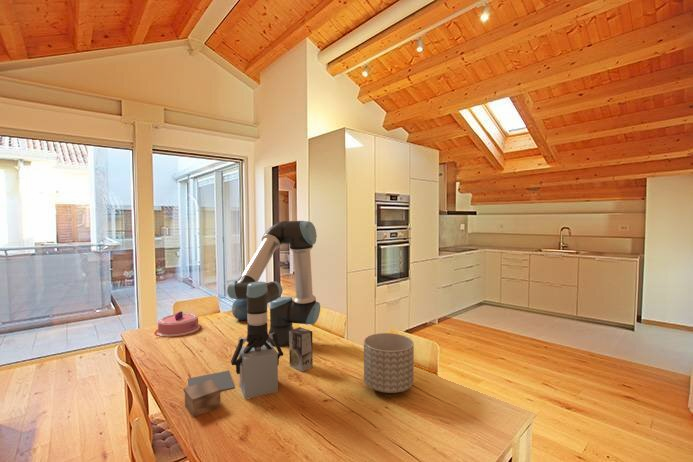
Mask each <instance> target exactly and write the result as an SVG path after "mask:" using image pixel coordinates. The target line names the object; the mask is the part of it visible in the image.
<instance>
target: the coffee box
mask: <svg viewBox="0 0 693 462" xmlns="http://www.w3.org/2000/svg"><path fill="white" fill-rule="evenodd" d="M288 346H289V367H291V368H293V369H295V370H297V371H300V372H305V371H307V370H311V369H312V368H313V367H314V365H313V358H314V357H313V331H312V330H310V329H308V328H304V327H301V326H300V327H299V326H298V327H296V328H293V330H290V331H289V345H288Z"/></svg>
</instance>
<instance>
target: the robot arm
mask: <svg viewBox="0 0 693 462" xmlns="http://www.w3.org/2000/svg"><path fill="white" fill-rule="evenodd" d="M317 237H318V236H317V229H316V227H315V225H314V223H313V222H311V221H308V220H282V221H279V222H277V223H275V224H273V225H272V226H271V227H269V228H268V229H267V230H266V231H265V232H264V234H263V236H262V237H261V242H260V244H259V246H258V248H257V249H256V251H255V252H254V254H253V255H252V258H251V259H250V261H249V262H248V264H247V265H246V267H245V269H244V270H243V272H242V274H241V275H240V276H239V278H238V280H232V281H231V282H229V284H228V285H227V289H226V293H227V296H228V297H229V298H230V299H233V300H236V299H238V300H240V299H242V300H247V320H246V322H247V327H246V329H247V331H246V333H247V335H246V337H241V336H239V337H238V343H237V345H236V348H235V351H234V353H233V356H232V357H231V360H230V363H231V366H235V372H236V374H237V375H238V382H239V381H240V383H242V364H241V363H242V356H241V355H240V356H239V353H240V351H241V349H242V347H244V344H245V343H246V342H247V344H246V345H245V346H246V348H245V349H244V351H243V353H244V354H246V353H249V351H250V350H251V349H252V348H257V347H262V346H263V345H265V346H266V347H267V349H272V348H271V346H270V345H269V344H268V342H270V344H271V345H272V346H273V347H275V348H276V351H277V353H278V366H279V362H280V360H279V359H280V358H281V357H283V356H284V352H283V350H282V347H286V346H289V331H290V330H293V329H294V327H293V324H298V325H299V324H301V325H307V326H308V325H314V324H316V323H317V321H318V320H319V318H320V317H319V316H320V312H321V303H320V302H319V301H317V298H316V295H314V294H313V279H312V261H311V259H312V258H311V257H312V256H311V250H312V249H313V248H314V245H315V244H316V242H317ZM281 245H289V249H290V251H292V252H293V253H292V255H293V256H292V257H293V258H292V259H293V270H294V284H295V285H294V286H295V297H294V298H293V297H292V296H288V295H287V296H282V294H283V287H282V284H281V283H280V282H279V281H269V282H266V281H259V280H260V278H261V277H262V274H263V273H264V271H265V269H266V267H267V266H268V264H269V262H270V260H271V258H272V257H273V255H274V254H275V251H276V250H278V249H280V247H281ZM269 303H270V304H269ZM268 304H269V321H270V322H269V325H270V326H269V331H268Z"/></svg>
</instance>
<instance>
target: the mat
mask: <svg viewBox="0 0 693 462" xmlns="http://www.w3.org/2000/svg"><path fill="white" fill-rule="evenodd" d="M232 377H233V376H232V375H231V372H230V370H224V371H219V372H214V373H209V374H204V375H198V376H194V377H190V378H187V384H188V385H187V387H189V386H192V385H196V384H199V383H202V382H205V381H208V380H212V381H213V382H214V383H216V384H217V385H218V386H219V387H220V388H221V389H222V391H227V390H232V389H235V388H236V386H235V384H234V380H233V378H232Z"/></svg>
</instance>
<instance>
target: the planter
mask: <svg viewBox="0 0 693 462" xmlns="http://www.w3.org/2000/svg"><path fill="white" fill-rule="evenodd" d="M414 344H415V343H414V340H412V339H411V338H410V337H408V336H405V335H404V334H403V335H402V334H399V333H391V332H379V333H375V334H371V335H370V334H369V335H368V336H366V337H365V338H364V339H363V382H364V383H365V385H366V386H367V387H368V388H370V389H371V390H375V391H377V392H381V393H385V394H396V393H397V394H398V393H403V392H405V391H407V390H410V389H411V388H412V387H413V385H414V376H415V375H414V369H415V368H414V367H415V365H414V361H415V360H414V355H415V353H414V352H415V350H414V349H415V345H414Z"/></svg>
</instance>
